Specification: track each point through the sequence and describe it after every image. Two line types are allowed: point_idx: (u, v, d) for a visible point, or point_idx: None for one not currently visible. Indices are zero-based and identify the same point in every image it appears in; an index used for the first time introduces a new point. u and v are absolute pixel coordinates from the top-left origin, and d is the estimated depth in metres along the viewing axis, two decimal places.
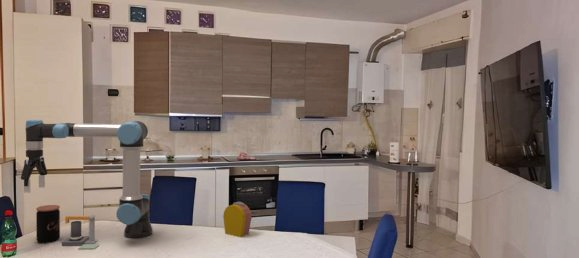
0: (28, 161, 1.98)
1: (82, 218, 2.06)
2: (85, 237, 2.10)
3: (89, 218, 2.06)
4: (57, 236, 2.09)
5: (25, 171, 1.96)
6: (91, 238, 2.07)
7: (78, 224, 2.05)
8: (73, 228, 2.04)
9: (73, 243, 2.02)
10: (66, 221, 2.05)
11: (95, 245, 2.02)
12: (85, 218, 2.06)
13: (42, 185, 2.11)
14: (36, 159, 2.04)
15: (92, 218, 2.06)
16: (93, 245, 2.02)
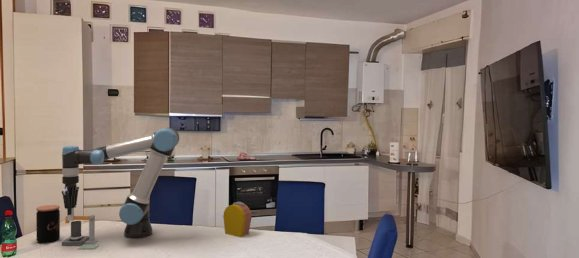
0: (65, 193, 1.98)
1: (82, 218, 2.06)
2: (85, 237, 2.10)
3: (89, 218, 2.06)
4: (57, 236, 2.09)
5: (66, 202, 2.00)
6: (91, 238, 2.07)
7: (78, 224, 2.06)
8: (73, 228, 2.05)
9: (73, 243, 2.02)
10: (66, 221, 2.06)
11: (95, 245, 2.02)
12: (85, 218, 2.06)
13: None
14: (72, 185, 2.04)
15: (92, 218, 2.06)
16: (93, 245, 2.02)
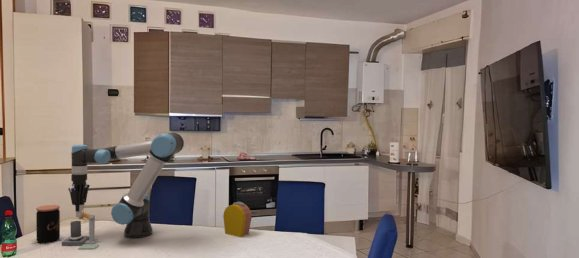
0: (71, 190, 2.05)
1: (86, 216, 2.09)
2: (85, 237, 2.10)
3: (89, 218, 2.07)
4: (57, 236, 2.09)
5: (73, 198, 2.07)
6: (91, 238, 2.07)
7: (78, 224, 2.05)
8: (72, 228, 2.04)
9: (73, 243, 2.02)
10: (79, 217, 2.14)
11: (95, 245, 2.02)
12: (87, 217, 2.09)
13: None
14: (80, 183, 2.11)
15: (90, 218, 2.06)
16: (93, 245, 2.02)
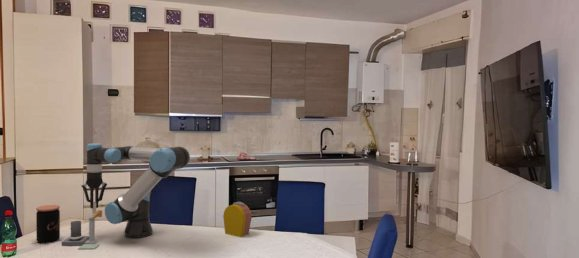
0: (82, 187, 2.12)
1: None
2: (85, 237, 2.10)
3: None
4: (57, 236, 2.09)
5: (85, 195, 2.14)
6: (91, 238, 2.07)
7: (78, 224, 2.06)
8: (73, 228, 2.05)
9: (73, 243, 2.02)
10: None
11: (95, 245, 2.02)
12: None
13: None
14: (94, 181, 2.15)
15: (89, 218, 2.07)
16: (93, 245, 2.02)
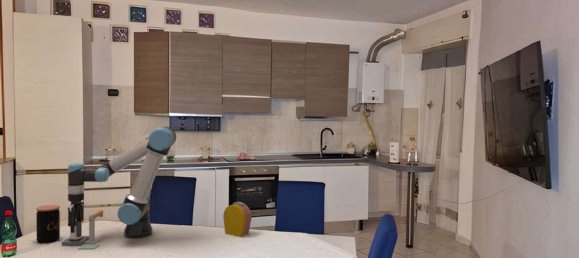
0: (71, 209, 2.00)
1: None
2: (85, 237, 2.10)
3: None
4: (57, 236, 2.09)
5: (71, 219, 2.00)
6: (91, 238, 2.07)
7: (79, 224, 2.06)
8: None
9: (73, 243, 2.02)
10: None
11: (95, 245, 2.02)
12: None
13: None
14: (78, 203, 2.06)
15: (89, 218, 2.07)
16: (93, 245, 2.02)
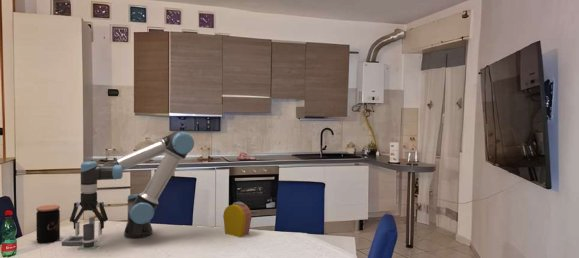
0: None
1: None
2: None
3: None
4: (57, 236, 2.09)
5: None
6: None
7: (84, 227, 1.98)
8: None
9: (73, 243, 2.02)
10: None
11: (95, 245, 2.02)
12: None
13: None
14: (87, 202, 1.99)
15: (89, 218, 2.07)
16: None
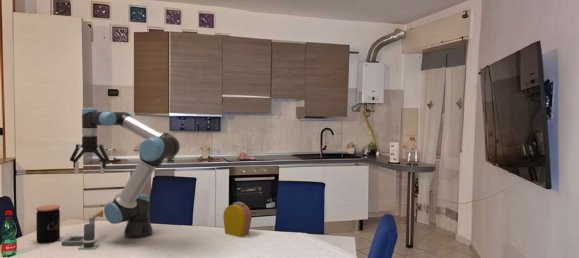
0: None
1: None
2: None
3: None
4: (57, 236, 2.09)
5: None
6: None
7: (85, 227, 1.98)
8: None
9: (73, 243, 2.02)
10: None
11: (95, 245, 2.02)
12: None
13: None
14: (88, 145, 2.16)
15: (89, 218, 2.07)
16: None
